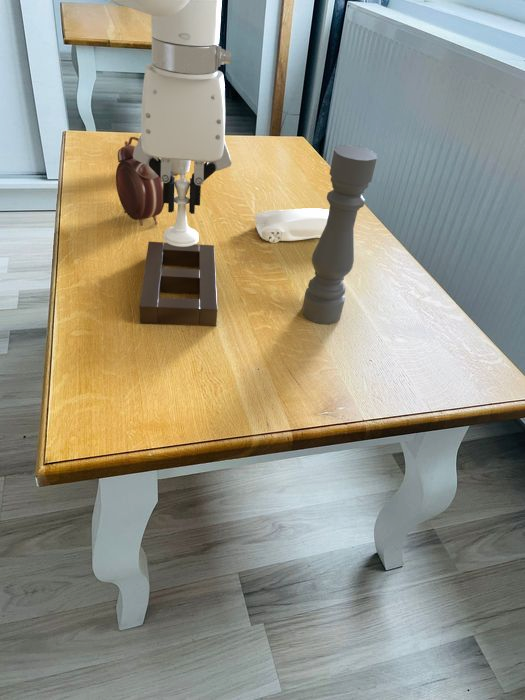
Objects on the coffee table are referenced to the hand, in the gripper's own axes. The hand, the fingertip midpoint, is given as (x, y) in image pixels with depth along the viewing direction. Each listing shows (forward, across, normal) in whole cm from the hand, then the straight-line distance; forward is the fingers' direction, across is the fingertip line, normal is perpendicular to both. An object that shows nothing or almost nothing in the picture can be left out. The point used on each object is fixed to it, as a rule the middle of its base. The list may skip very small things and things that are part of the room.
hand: (181, 207), depth 74 cm
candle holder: (+16, -22, +1) cm, 27 cm away
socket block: (+16, 0, -4) cm, 16 cm away
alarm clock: (+16, +8, -28) cm, 33 cm away
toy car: (+16, -23, -26) cm, 38 cm away
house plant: (+16, +3, -55) cm, 57 cm away
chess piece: (+5, 0, 0) cm, 5 cm away
